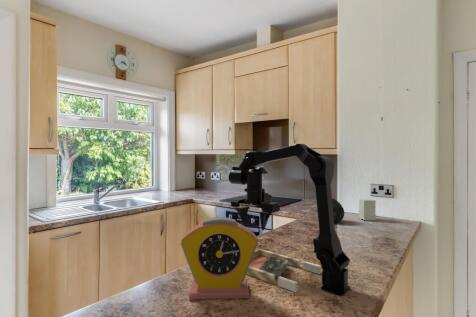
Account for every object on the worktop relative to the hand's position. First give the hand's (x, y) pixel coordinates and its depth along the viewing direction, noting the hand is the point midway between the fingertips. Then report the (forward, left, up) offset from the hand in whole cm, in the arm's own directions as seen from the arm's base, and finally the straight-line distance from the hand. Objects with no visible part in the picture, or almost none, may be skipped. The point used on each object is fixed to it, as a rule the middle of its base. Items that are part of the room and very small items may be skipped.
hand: (254, 228), depth 101 cm
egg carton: (-9, 0, -14) cm, 16 cm away
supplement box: (-10, -102, -13) cm, 103 cm away
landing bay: (-19, 0, -13) cm, 23 cm away
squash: (+5, -83, -13) cm, 84 cm away
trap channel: (-5, 0, -13) cm, 14 cm away
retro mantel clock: (-5, +23, -13) cm, 27 cm away
